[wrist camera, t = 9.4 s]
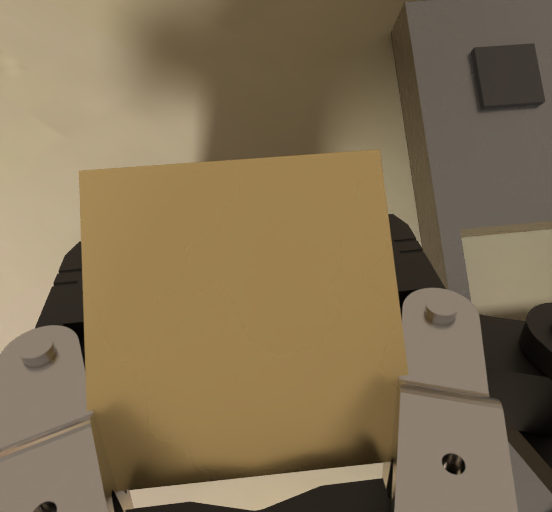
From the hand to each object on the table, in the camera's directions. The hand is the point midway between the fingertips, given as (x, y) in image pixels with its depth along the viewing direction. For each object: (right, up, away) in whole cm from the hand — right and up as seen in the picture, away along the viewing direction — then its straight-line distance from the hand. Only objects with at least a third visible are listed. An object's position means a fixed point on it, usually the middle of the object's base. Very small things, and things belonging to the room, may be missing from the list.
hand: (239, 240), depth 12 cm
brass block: (0, -3, +6) cm, 7 cm away
